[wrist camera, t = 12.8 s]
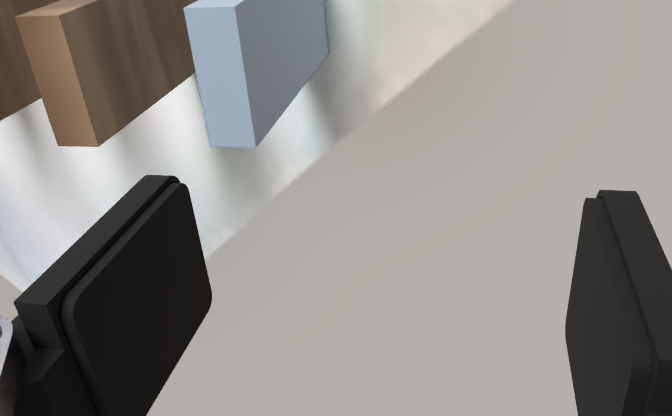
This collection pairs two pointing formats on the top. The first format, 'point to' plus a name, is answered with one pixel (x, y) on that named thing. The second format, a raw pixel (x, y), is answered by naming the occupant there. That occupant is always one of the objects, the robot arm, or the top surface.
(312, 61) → the domino
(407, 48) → the top surface
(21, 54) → the domino
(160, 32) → the domino
